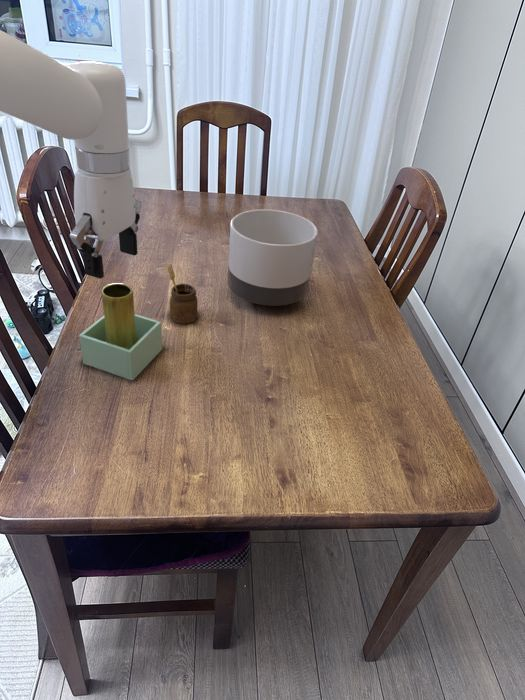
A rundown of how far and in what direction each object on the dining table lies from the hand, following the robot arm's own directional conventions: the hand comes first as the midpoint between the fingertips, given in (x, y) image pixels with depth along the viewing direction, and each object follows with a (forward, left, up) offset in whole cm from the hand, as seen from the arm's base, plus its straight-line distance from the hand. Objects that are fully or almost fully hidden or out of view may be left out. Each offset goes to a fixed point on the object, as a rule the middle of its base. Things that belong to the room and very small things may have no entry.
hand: (112, 264), depth 82 cm
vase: (0, 0, -20) cm, 20 cm away
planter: (+17, +36, -20) cm, 44 cm away
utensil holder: (+4, +18, -20) cm, 27 cm away
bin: (0, 0, -20) cm, 20 cm away
